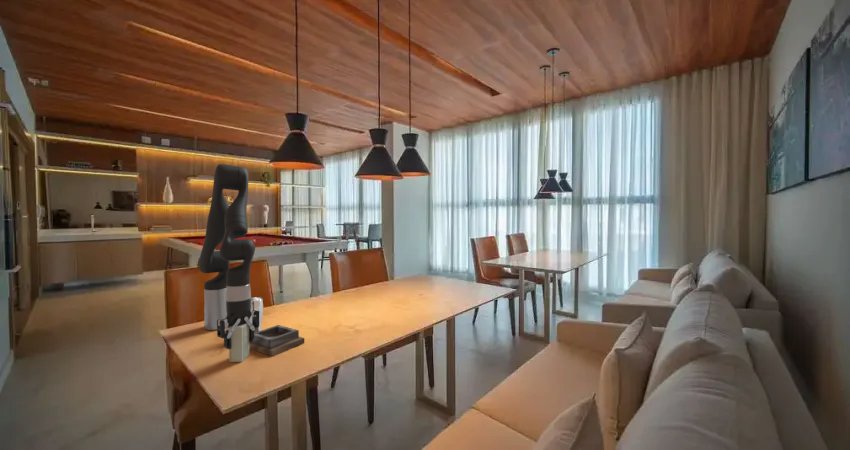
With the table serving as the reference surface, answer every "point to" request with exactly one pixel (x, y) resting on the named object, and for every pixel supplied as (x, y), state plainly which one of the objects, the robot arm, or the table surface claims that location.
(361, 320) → the table surface
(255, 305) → the beer glass
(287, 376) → the table surface
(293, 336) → the pocket stand
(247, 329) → the skincare box
